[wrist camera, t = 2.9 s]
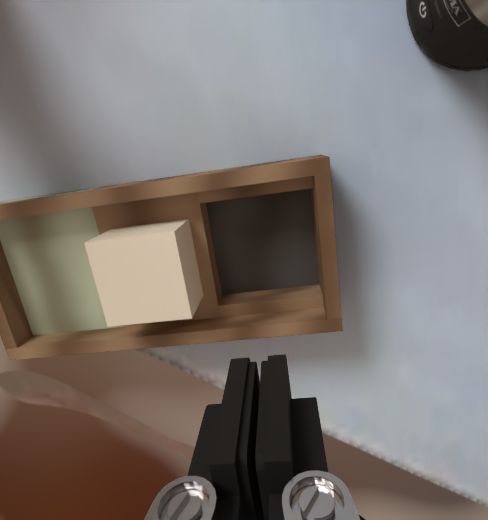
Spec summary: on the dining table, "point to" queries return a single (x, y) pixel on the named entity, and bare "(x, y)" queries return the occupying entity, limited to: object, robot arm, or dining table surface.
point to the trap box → (206, 249)
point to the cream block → (146, 273)
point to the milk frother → (451, 31)
